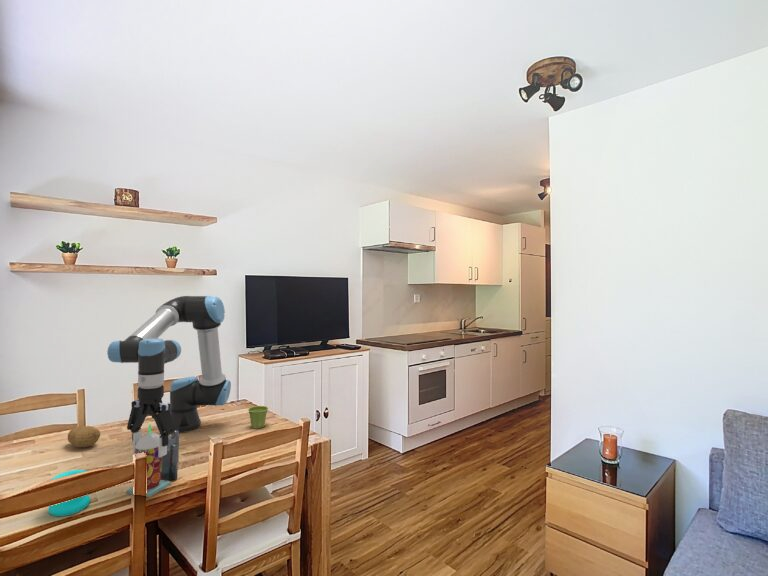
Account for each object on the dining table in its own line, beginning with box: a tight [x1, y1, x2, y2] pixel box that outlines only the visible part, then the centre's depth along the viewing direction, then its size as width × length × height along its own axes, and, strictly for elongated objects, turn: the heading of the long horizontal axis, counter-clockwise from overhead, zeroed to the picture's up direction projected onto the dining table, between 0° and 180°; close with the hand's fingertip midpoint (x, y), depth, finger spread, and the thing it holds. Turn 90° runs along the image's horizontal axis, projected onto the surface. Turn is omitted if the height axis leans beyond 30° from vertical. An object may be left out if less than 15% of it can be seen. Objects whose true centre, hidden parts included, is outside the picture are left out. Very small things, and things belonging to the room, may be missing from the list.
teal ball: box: [47, 469, 91, 517], centre depth 122 cm, size 10×10×10 cm
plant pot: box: [247, 405, 269, 430], centre depth 197 cm, size 9×9×9 cm
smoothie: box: [134, 424, 163, 489], centre depth 135 cm, size 8×8×20 cm
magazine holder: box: [161, 430, 180, 482], centre depth 149 cm, size 13×14×12 cm
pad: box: [126, 479, 172, 498], centre depth 135 cm, size 9×9×1 cm
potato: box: [67, 425, 101, 448], centre depth 169 cm, size 10×14×8 cm
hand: (149, 453), depth 135 cm, fingers open, 10 cm apart
